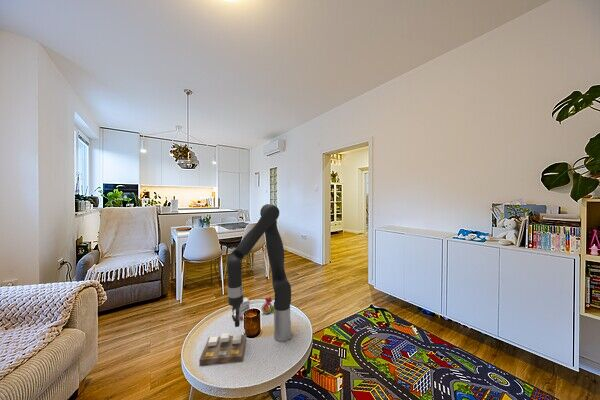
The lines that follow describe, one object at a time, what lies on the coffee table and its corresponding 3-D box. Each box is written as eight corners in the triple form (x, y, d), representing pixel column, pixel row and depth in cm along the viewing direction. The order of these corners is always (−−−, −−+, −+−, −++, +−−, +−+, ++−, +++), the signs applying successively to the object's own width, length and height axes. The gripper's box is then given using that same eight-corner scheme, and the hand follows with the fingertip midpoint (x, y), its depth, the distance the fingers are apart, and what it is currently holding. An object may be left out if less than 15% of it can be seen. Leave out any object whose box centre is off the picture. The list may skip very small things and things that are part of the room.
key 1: (218, 340, 120) (218, 336, 119) (216, 345, 116) (216, 341, 115) (210, 340, 119) (210, 337, 119) (208, 346, 115) (208, 342, 115)
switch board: (246, 339, 125) (246, 333, 125) (242, 361, 110) (242, 355, 109) (208, 343, 123) (208, 337, 123) (199, 366, 107) (199, 359, 107)
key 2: (241, 338, 121) (241, 334, 121) (240, 343, 117) (240, 339, 117) (233, 338, 121) (233, 335, 120) (232, 343, 117) (232, 340, 116)
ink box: (237, 322, 142) (236, 303, 142) (234, 318, 146) (234, 300, 146) (250, 317, 147) (249, 299, 146) (247, 314, 151) (246, 296, 150)
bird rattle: (267, 319, 148) (278, 310, 152) (260, 306, 145) (272, 297, 149) (264, 315, 153) (275, 306, 157) (257, 302, 151) (268, 293, 155)
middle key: (229, 336, 120) (229, 332, 120) (228, 341, 116) (228, 337, 116) (222, 337, 120) (222, 333, 120) (220, 342, 116) (220, 338, 116)
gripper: (241, 299, 111) (243, 333, 112) (244, 287, 124) (246, 318, 125) (225, 300, 110) (227, 335, 111) (230, 288, 123) (232, 319, 124)
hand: (237, 325), depth 118 cm, fingers closed
